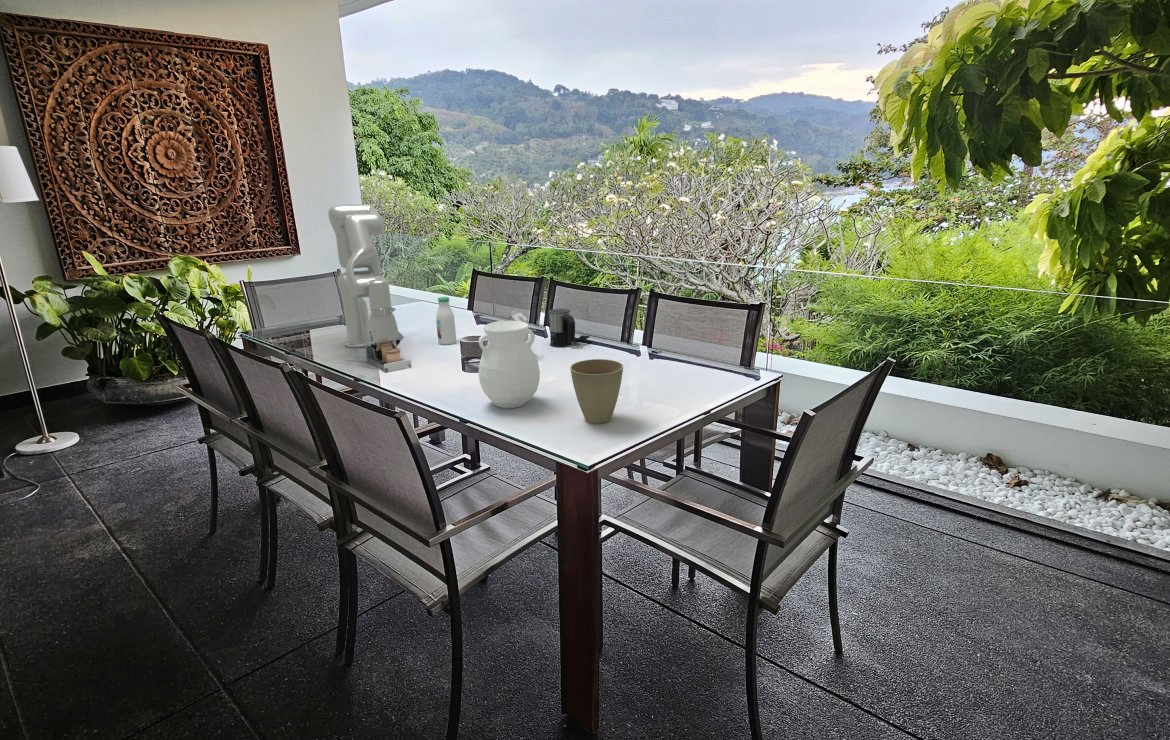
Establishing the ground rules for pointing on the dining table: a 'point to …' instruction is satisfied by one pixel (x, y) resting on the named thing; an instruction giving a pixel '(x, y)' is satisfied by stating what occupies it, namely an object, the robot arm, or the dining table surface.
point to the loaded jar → (393, 355)
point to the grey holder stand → (387, 366)
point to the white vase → (508, 364)
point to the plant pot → (597, 387)
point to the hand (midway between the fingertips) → (387, 358)
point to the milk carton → (518, 319)
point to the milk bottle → (445, 322)
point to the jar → (384, 347)
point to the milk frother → (562, 328)
